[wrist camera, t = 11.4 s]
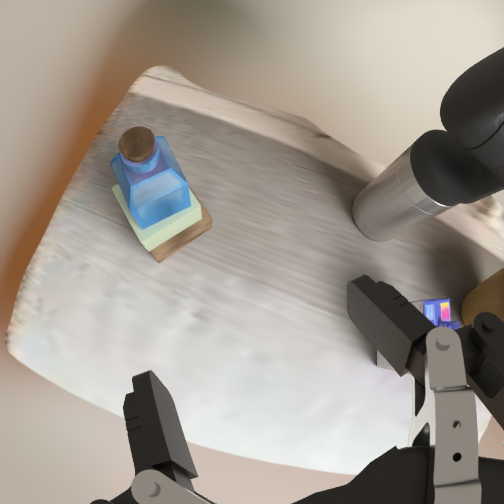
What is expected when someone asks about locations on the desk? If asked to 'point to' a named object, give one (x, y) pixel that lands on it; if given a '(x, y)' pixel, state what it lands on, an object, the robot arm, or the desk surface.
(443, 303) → the ink cartridge box
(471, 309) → the plant pot
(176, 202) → the perfume bottle
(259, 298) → the desk surface
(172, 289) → the desk surface
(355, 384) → the desk surface
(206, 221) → the tower base block
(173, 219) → the tower top block
